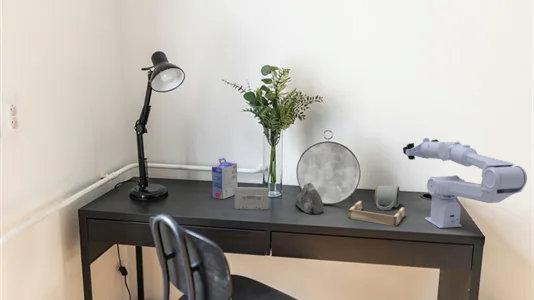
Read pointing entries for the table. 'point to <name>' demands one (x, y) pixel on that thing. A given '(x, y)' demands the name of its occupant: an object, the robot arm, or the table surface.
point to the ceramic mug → (387, 196)
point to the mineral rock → (309, 200)
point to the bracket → (375, 215)
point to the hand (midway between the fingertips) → (413, 148)
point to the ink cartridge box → (224, 179)
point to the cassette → (251, 203)
